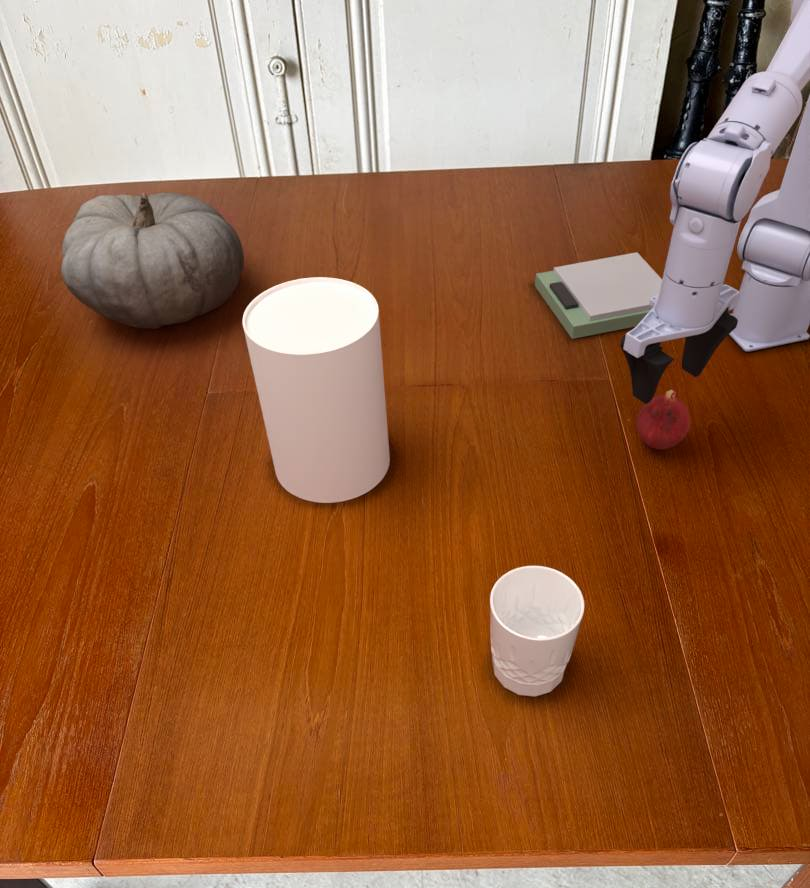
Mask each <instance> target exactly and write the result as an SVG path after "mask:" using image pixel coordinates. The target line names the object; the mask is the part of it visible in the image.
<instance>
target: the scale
mask: <svg viewBox="0 0 810 888" xmlns="http://www.w3.org/2000/svg"><path fill="white" fill-rule="evenodd" d="M661 283H662V278H661V277H660V275H659V274H658V273H657V272H656V271H655V270H654V269H653V267H651V265H649V263H648V262H647V261H646V260H645V259H644V258H643V257H642V255H641V254H640V253H638V252H637V251H636V252H632V253H625V254H620V255H615V256H610V257H604V258H598V259H593V260H588V261H587V260H586V261H582V262H576V263H570V264H565V265H561V266H555V267H553V270H548V271H543V272H538V273H535V279H534V287H535V289H536V290H537V292H538V293H539V294H540V296H541V297H542V299H543V300H544V301H545V303H546V304H547V306H548V307H549V308H550V310H551V312H552V313H553V314H554V316H555V317H556V319H557V320H558V321H559V323H560V324H561V326H562V327H563V328H564V330H565V331H566V333H567V334H568V336H569V337H570V338H571V340H574V339H579V338H584V337H590V336H594V335H600V334H604V333H610V332H615V331H620V330H625V329H630V328H635V327H636V326H637V325H638V324H639V323H640V322H641V321H642V319H643V318H644V317H645V316H646V315H647V314H648V312H649V311H650V310H651V309H652V308H653V307H652V306H651V305H650V304H649V302H650V298H651V297H653V296H655V295H657V294H659V292H660V287H661Z"/></svg>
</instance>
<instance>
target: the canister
mask: <svg viewBox="0 0 810 888" xmlns="http://www.w3.org/2000/svg"><path fill="white" fill-rule="evenodd" d="M380 325H381V324H380V310H379V304H378V302H377V299H376V298H375V296H374V295H373V294H372V293H371V292H370V291H369V290H368V289H366V288H364V287H363V286H361V284H357V283H356V282H355V283H354V282H352V281H349V280H345V279H341V278H335V277H328V276H327V277H326V276H324V277H323V276H319V277H317V276H315V277H314V276H313V277H306V278H305V277H304V278H297V279H293V280H288V281H286V282H285V281H284V282H282V283H279V284H277V285H274V286H272V287H270V288H268V289H267V290H264V291H263V292H260V294H258V295H257V296H256V297H254V298H253V299H252V300H251V301H250V302H249V304H248V305H247V306H246V308H245V310H244V312H243V316H242V328H243V332H244V337H245V342H246V346H247V350H248V356H249V360H250V365H251V368H252V369H251V370H252V374H253V378H254V382H255V386H256V391H257V395H258V400H259V405H260V409H261V414H262V418H263V423H264V427H265V432H266V437H267V441H268V445H269V449H270V454H271V458H272V464H273V466H274V472H275V476H276V478H277V481H278V482H279V484H280V485H281V486H282V488H283V489H284V490H286V491H287V492H288V493H290V494H291V495H293V496H294V497H296V498H299V499H301V500H304V501H308V502H313V503H319V504H320V503H321V504H332V503H340V502H346V501H350V500H353V499H355V498H359V497H361V496H363V495H364V494H367V493H368V492H370V491H371V490H373V489H374V488H375V487H376V486H377V485H379V483H381V481H382V480H384V477H385V476H386V474H387V472H388V471H389V467H390V462H391V461H390V460H391V457H390V444H389V431H388V418H387V417H388V416H387V405H386V404H387V402H386V390H385V379H384V376H385V375H384V366H383V365H384V364H383V351H382V349H383V348H382V337H381V326H380Z"/></svg>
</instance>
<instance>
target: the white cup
mask: <svg viewBox="0 0 810 888" xmlns="http://www.w3.org/2000/svg"><path fill="white" fill-rule="evenodd" d="M584 612H585V599H584V596H583V593H582V591H581V589H580V587H579V586H578V584H576V583H575V581H574V580H573V579H571V578H570V577H569V576H568V575H567V574H565V573H563V572H561V571H559V570H557V569H554V568H552V567H548V566H543V565H526V566H524V565H523V566H520V567H516V568H513V569H511V570H509V571H507V572H505V574H503V575H501V577H499V578H498V579H497V581H496V582H495V583H494V585H493V587H492V588H491V592H490V597H489V633H490V651H491V664H492V668H493V674H494V676H495V678H496V679H497V680H498V682H499V683H500V684H501V685H502V687H503V688H505V689H507V690H508V691H510V692H512V693H514V694H516V695H518V696H526V697H538V696H542V695H545V694H548V693H551V692H552V691H553V690H554V689H555V688H557V686H558V685H559V684H561V683H562V681H563V677H564V674H565V671H566V667H567V665H568V664H569V662H570V660H571V656H572V653H573V650H574V647H575V645H576V642H577V638H578V634H579V630H580V627H581V623H582V620H583V616H584V614H585V613H584Z"/></svg>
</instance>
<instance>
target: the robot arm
mask: <svg viewBox="0 0 810 888" xmlns="http://www.w3.org/2000/svg"><path fill="white" fill-rule="evenodd" d="M790 8H791V11H790V22H791V23H790V26H789V28H788V30H787V31H786V32H785V35H784V36H783V39H782V40H781V42H780V44H779V46H778V48H777V50H776V51H775V53H774V55H773V57H772V59H771V61H770V63H769V64H768V66H767V68H766V70H765V71H760V72H756V73H753V74H752V75H750V76H749V77H748V78H746V80H745V81H744V82H743V83H742V85H741V87H740V88H739V90H738V91H737V93H736V94H735V95H734V97H733V98H732V99H731V101H730V102H729V104H728V105H727V107H726V109H725V110H724V112H723V114H721V116H720V118H719V119H718V121H717V122H716V124H715V125H714V127H713V128H712V129H711V131H710V133H709V134H708V136H707V137H704V138H703V139H701V140H700V141H695V142H692V143H691V144H689V145H688V147H687V148H686V149H685V151H684V152H683V154H682V155H681V157H680V159H679V161H678V163H677V166H676V169H675V171H674V175H673V179H672V181H671V183H670V192H669V199H670V202H671V211H670V216H669V222H670V224H671V225H672V226H673V229H672V233H671V237H670V243H669V247H668V252H667V256H666V261H665V265H664V270H663V274H662V278H661V279H662V283H661V287H660V292H659V294H657V295H655V296H653V297H651V298H650V302H649V304H650V305H651V306H652V307H653V308H652V309H651V310H650V311H649V312H648V314H647V315H646V316H645V317H644V318H643V319H642V321H641V322H640V323H639V324H638V325H637V326H636V327H633V328H632V329H631V330H629V331H628V332H625V334H624V335H623V336H622V337H621V339H620V349H621V350H622V352H623V355H624V357H625V359H626V362H627V364H628V365H627V366H628V368H629V369H628V370H629V373H630V379H631V389H632V390H631V391H632V396H633V397H634V398H636V399H637V400H639V401H640V402H642V403H643V404H647V403H649V402H651V400H652V399H653V398H655V394H656V393H657V389H658V386H659V383H660V380H661V378H662V377H663V375H664V373H665V371H666V369H668V367H669V366H670V364H672V362H673V361H674V360H675V358H673V357H672V356H670V355H669V354H667V353H666V352H664V351H663V346H661V343H662V342H667V341H672V340H678V339H682V338H684V339H685V340H684V344H683V345H684V346H683V351H682V357H681V369H682V370H683V371H684V372H686V373H688V374H690V375H691V376H692V377H694V378H697V377H699V376H701V374H702V372H703V371H704V369H705V368H706V366H707V364H708V363H709V361H710V360H711V358H712V356H713V355H714V353H715V352H716V351H717V348H719V346H720V345H721V344H722V343H723V341H724V340H725V339H726V338H727V337H728V336H730V337H731V338H732V339H733V340H734V341H735V343H736V344H737V345H738V346H739V347H740V348H741V349H742V350H743V351H744V352H753V351H754V352H755V351H759V350H763V349H768V348H773V347H778V346H782V345H786V344H787V345H789V344H793V343H797V342H801V341H807V340H809V339H810V334H809V333H808V329H809V327H810V94H809V95H808V97H807V102H806V105H805V107H804V111H803V115H802V117H801V121H800V124H799V126H798V127H799V128H798V131H797V134H796V137H795V140H794V143H793V146H792V150H791V154H790V155H789V159H788V162H787V165H786V168H785V171H784V175H783V177H782V181H781V185H780V188H779V189H777V190H775V191H772V192H769V193H767V194H765V195H763V196H762V197H761V198H759V200H758V201H757V202H756V203H755V201H756V199H757V197H758V195H759V193H760V190H761V187H762V184H763V182H764V180H765V179H766V176H767V175H768V172H769V171H770V167H771V159H772V157H773V155H774V154H775V152H776V150H777V149H778V148H779V146H780V145H781V143H782V141H783V140H784V138H786V135H787V134H788V132H789V131H790V129H791V128H792V126H793V125H794V123H795V122H796V120H797V119H798V117H799V115H800V114H801V111H802V109H803V96H802V92H801V91H802V90H803V89H804V87H805V86H806V85H807V84H808V82H809V81H810V0H791V1H790ZM754 203H755V204H754ZM749 211H750V213H749V215H748V218H747V221H746V223H745V224H744V227H743V228H742V231H741V233H740V235H739V238H738V242H737V246H736V252H737V257H738V259H739V260H740V261H743V262H742V266H741V269H742V270H744V274H743V277H742V280H741V284H740V287H739V290H738V289H736V288H734V287H732V286H730V285H728V284H727V283H725V279H726V275H727V272H728V267H729V264H730V260H731V257H732V255H733V254H732V253H733V250H734V246H735V244H736V240H737V236H738V232H739V230H740V225H741V222H742V219H744V218H745V216H746V215H747V214H748V212H749ZM724 283H725V284H724ZM729 311H732V313H729Z"/></svg>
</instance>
